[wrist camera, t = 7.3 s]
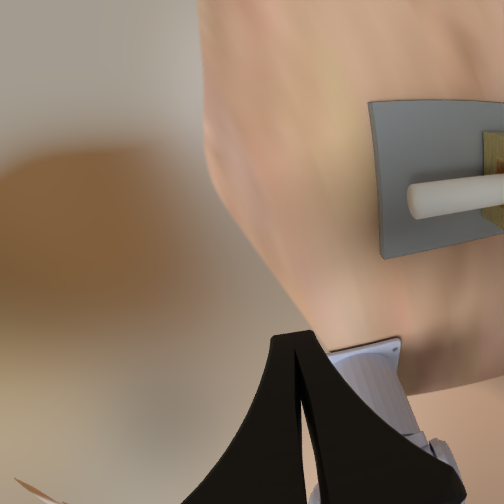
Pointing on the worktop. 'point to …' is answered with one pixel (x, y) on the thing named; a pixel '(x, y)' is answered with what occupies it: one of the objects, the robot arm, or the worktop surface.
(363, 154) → the worktop surface
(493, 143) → the collar
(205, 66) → the worktop surface
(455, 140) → the rail
